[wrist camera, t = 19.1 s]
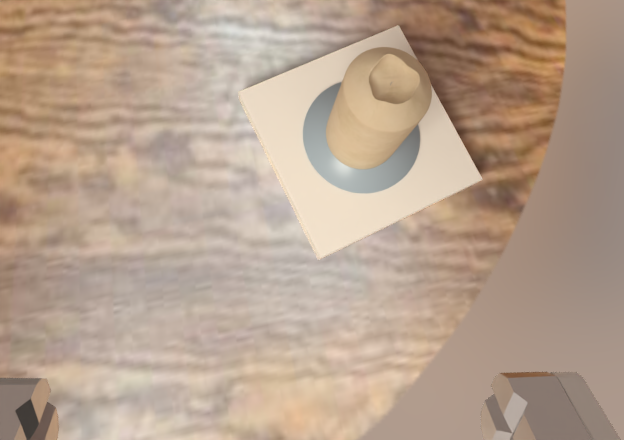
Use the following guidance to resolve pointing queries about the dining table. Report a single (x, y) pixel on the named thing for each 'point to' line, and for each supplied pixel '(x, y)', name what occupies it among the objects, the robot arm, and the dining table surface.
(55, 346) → the dining table surface
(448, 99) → the dining table surface
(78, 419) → the dining table surface
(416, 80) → the candle
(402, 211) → the base board
